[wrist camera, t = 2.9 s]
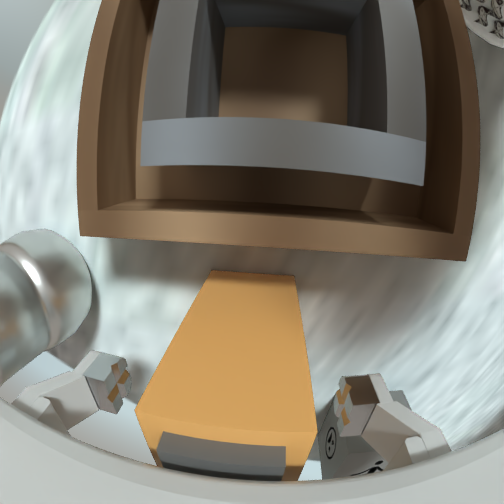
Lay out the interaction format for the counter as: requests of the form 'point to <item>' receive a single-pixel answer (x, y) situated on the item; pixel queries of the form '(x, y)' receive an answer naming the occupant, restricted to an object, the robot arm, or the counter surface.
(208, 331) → the block
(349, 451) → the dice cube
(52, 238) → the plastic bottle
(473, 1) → the decorative candle
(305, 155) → the walled box
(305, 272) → the counter surface
